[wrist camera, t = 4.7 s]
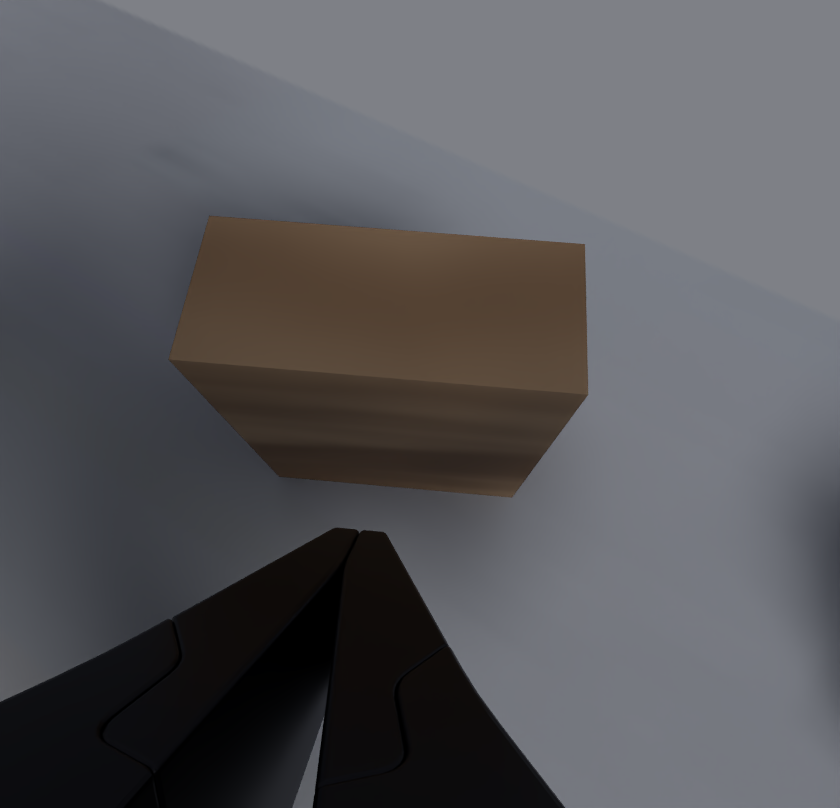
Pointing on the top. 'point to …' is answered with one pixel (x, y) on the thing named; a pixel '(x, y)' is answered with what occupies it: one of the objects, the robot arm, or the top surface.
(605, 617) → the top surface
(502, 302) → the walnut block
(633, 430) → the top surface
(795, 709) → the top surface
